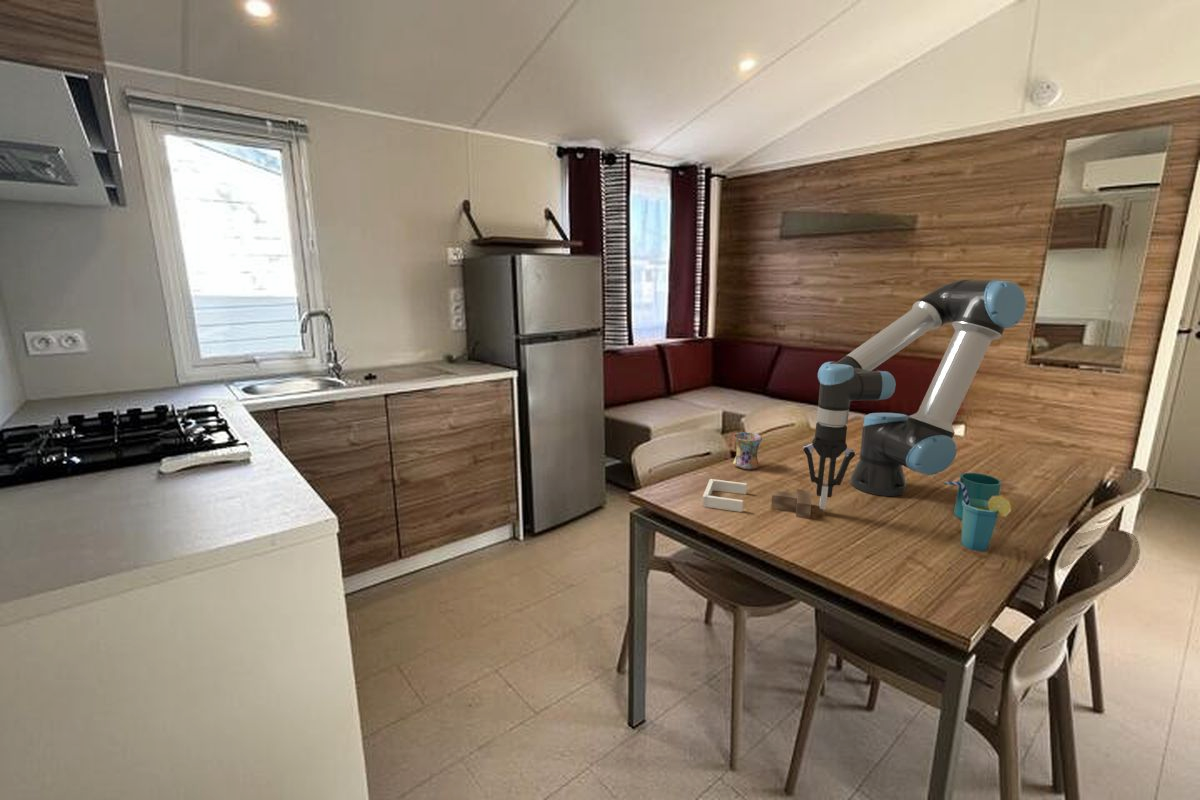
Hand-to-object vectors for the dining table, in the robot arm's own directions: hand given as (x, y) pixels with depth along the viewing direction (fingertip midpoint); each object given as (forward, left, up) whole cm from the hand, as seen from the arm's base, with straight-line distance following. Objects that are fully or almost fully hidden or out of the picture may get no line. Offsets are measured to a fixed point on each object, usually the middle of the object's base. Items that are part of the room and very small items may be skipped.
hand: (822, 507), depth 148 cm
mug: (+23, -32, -2) cm, 40 cm away
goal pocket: (+26, 0, -2) cm, 26 cm away
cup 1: (-39, -12, -2) cm, 41 cm away
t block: (+8, 0, -2) cm, 8 cm away
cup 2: (-33, +7, -2) cm, 34 cm away
